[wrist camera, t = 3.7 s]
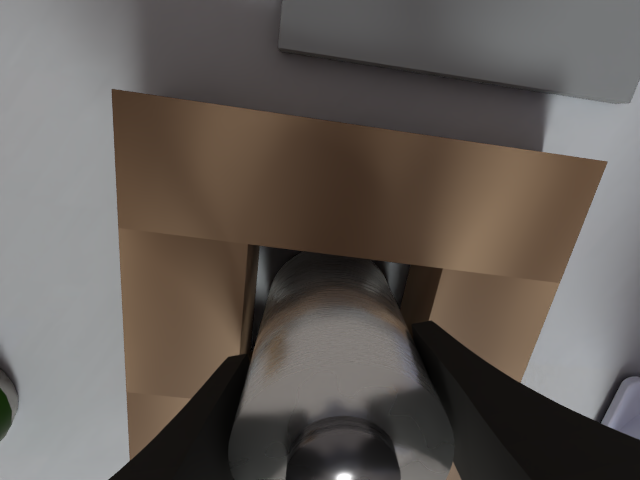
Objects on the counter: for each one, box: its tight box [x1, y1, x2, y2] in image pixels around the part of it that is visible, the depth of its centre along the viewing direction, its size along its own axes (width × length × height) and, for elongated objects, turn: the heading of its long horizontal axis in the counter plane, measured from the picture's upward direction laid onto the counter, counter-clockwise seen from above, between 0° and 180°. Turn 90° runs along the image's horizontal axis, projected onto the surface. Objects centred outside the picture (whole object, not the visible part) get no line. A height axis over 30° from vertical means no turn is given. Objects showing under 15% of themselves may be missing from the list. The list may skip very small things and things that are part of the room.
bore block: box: [112, 89, 607, 480], centre depth 13 cm, size 14×14×3 cm
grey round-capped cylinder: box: [228, 251, 454, 480], centre depth 11 cm, size 5×5×8 cm
